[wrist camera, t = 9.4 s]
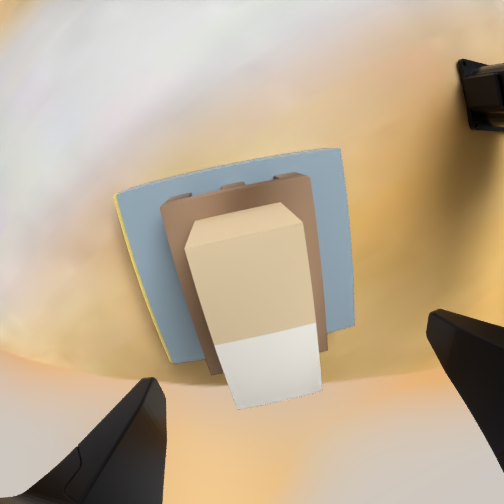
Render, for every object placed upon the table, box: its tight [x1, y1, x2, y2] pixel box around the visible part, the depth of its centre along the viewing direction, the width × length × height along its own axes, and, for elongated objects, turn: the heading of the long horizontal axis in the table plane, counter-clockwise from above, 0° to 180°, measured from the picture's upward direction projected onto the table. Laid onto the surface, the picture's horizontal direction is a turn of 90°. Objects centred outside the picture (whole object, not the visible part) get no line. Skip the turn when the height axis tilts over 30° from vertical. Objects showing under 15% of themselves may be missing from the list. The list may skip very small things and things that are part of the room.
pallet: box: [160, 172, 328, 375], centre depth 16 cm, size 7×10×3 cm
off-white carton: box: [214, 323, 322, 410], centre depth 14 cm, size 4×4×4 cm
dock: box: [113, 148, 355, 364], centre depth 19 cm, size 13×12×3 cm
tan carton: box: [184, 202, 316, 345], centre depth 12 cm, size 4×4×4 cm
